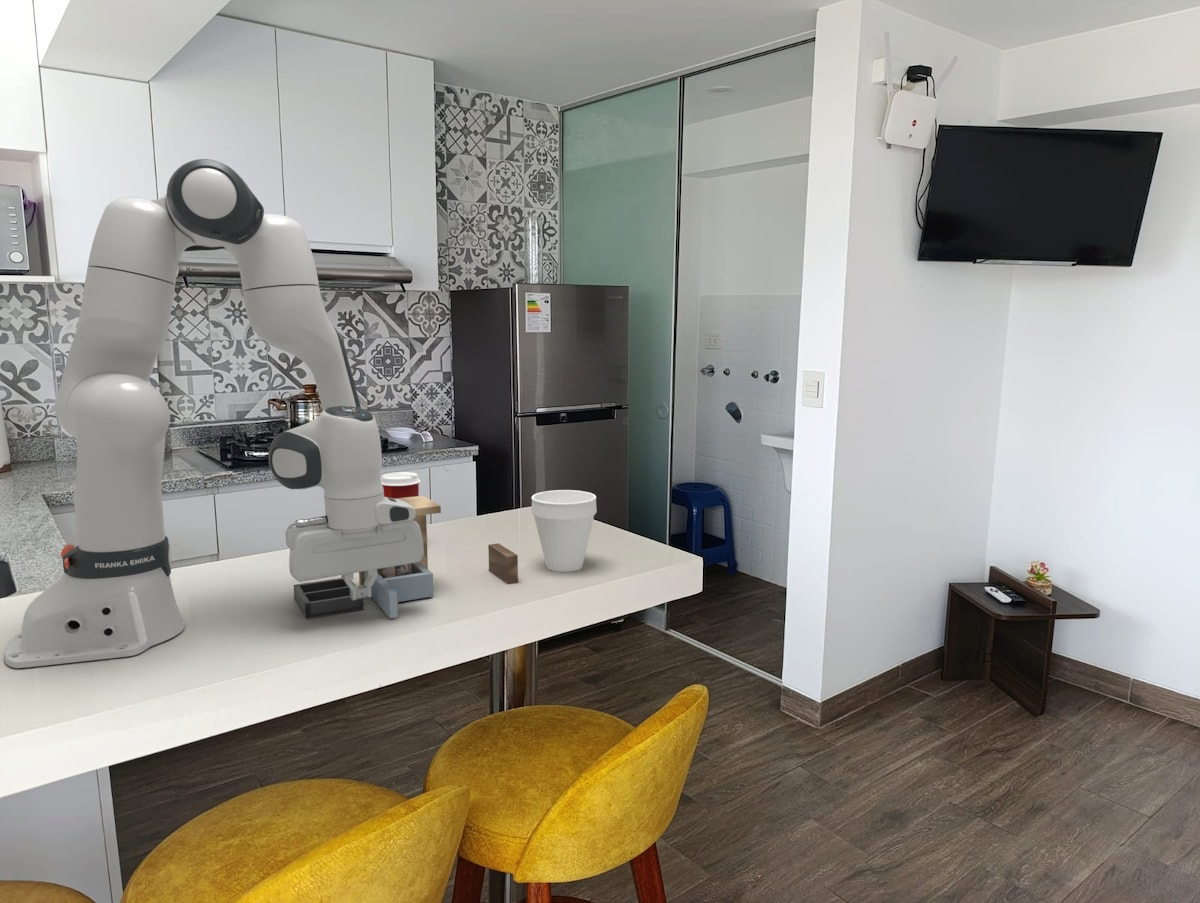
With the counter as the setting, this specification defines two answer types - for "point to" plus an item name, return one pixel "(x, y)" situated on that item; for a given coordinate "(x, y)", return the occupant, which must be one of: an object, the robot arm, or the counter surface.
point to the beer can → (396, 571)
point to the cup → (564, 526)
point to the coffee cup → (400, 485)
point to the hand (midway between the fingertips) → (360, 597)
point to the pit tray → (325, 598)
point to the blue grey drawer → (402, 588)
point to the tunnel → (422, 509)
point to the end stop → (503, 563)
